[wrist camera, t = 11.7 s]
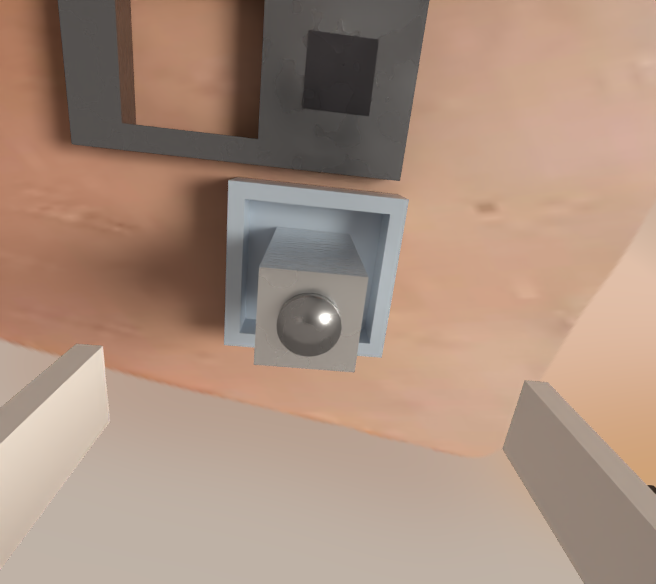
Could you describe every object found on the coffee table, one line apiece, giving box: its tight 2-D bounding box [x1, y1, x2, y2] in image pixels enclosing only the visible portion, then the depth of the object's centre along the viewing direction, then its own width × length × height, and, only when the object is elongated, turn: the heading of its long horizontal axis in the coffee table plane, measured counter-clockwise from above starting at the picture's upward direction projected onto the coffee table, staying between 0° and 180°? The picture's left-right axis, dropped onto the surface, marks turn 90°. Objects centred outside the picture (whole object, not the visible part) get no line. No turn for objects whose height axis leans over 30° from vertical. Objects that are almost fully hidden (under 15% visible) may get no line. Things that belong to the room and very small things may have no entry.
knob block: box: [254, 227, 369, 372], centre depth 23 cm, size 5×5×11 cm
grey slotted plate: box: [58, 0, 429, 181], centre depth 24 cm, size 11×20×2 cm, turn 84°
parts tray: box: [224, 177, 409, 358], centre depth 28 cm, size 11×11×3 cm
